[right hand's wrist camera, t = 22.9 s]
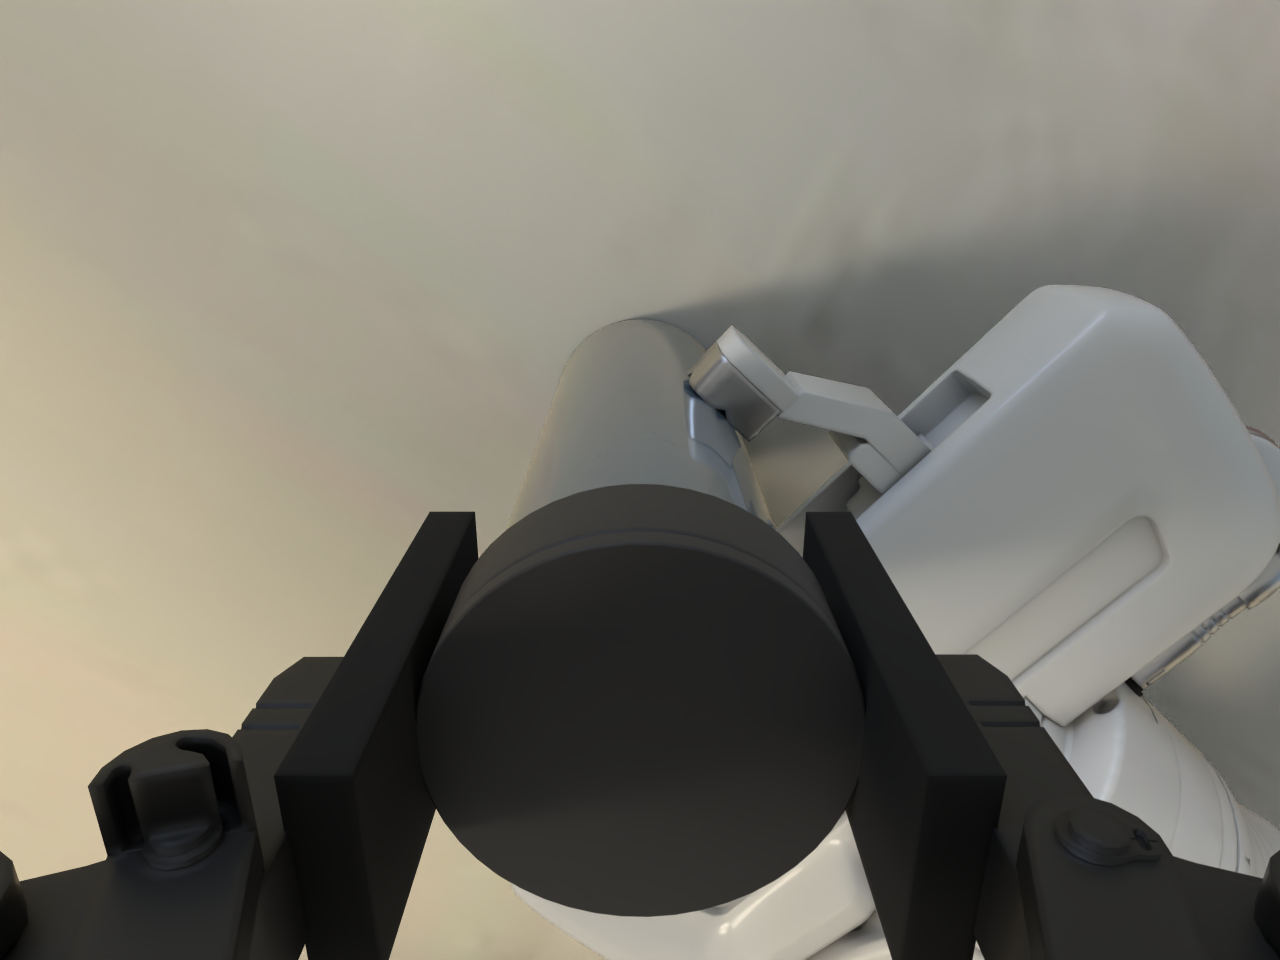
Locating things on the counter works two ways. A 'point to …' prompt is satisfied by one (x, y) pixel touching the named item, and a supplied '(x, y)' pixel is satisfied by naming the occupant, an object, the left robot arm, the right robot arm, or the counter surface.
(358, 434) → the counter surface
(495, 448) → the counter surface
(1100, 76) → the counter surface
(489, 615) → the lid
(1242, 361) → the counter surface
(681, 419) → the jar
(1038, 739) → the right robot arm
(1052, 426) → the left robot arm
